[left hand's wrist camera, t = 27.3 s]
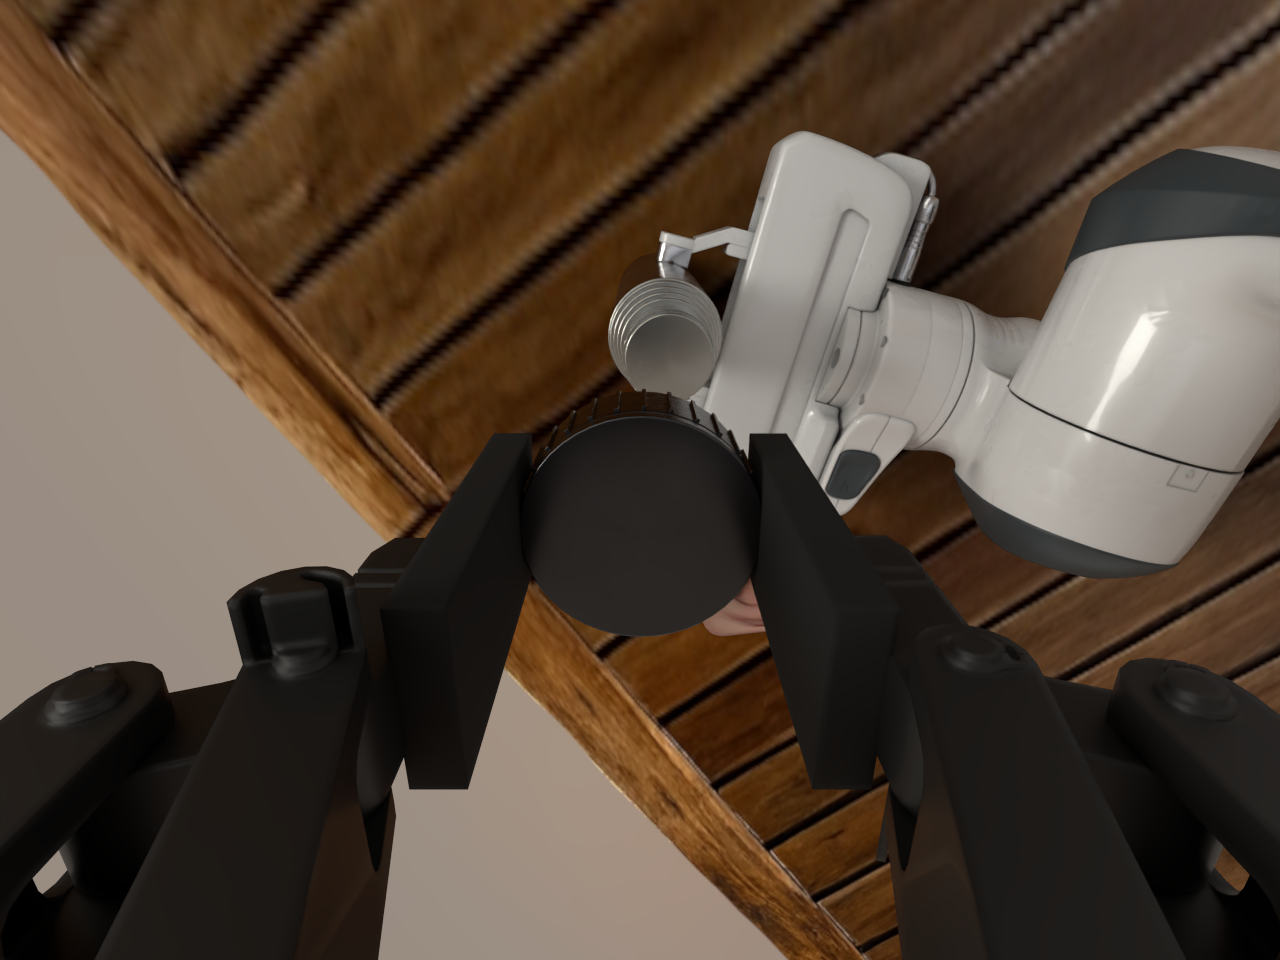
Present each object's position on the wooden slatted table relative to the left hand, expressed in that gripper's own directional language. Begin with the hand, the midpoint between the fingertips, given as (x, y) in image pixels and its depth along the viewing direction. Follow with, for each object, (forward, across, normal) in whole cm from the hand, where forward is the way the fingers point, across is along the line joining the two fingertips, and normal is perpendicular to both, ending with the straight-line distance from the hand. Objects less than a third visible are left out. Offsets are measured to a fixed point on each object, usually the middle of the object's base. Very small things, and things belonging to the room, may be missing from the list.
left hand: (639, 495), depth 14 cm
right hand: (+25, 0, +1) cm, 25 cm away
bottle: (+32, +1, +1) cm, 32 cm away
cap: (-2, 0, 0) cm, 2 cm away
